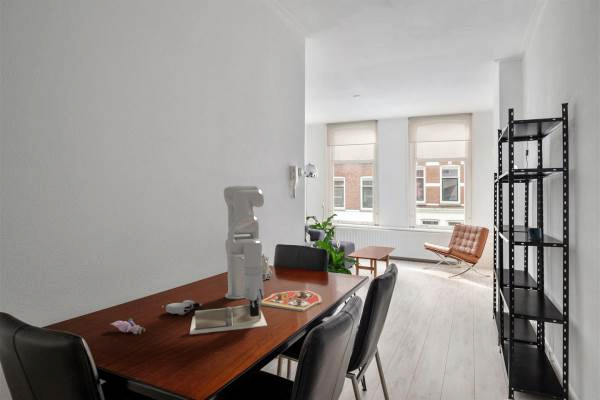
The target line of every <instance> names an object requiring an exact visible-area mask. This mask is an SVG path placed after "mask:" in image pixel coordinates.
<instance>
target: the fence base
mask: <svg viewBox="0 0 600 400" xmlns="http://www.w3.org/2000/svg"><path fill="white" fill-rule="evenodd" d="M232 307H233V306H232ZM232 307H231V306H227V307H223V308H211V309H203V310H202V309H201V310H195V312H194V316H195V327H196V329H197V328H206V327H216V326H225V325H226V326H227V327H230V326H232Z"/></svg>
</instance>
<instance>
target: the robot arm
mask: <svg viewBox="0 0 600 400" xmlns="http://www.w3.org/2000/svg"><path fill="white" fill-rule="evenodd" d="M223 197H224V198H223V199H224V201H225V204H226V206H227V225H228V226H227V227H228V228H227V229H228V232H227V239H226V240H225V243H224V245H225V251H226V259H227V288H228V289H227V290H228V291H227V293H225V295H224V297H225V298H226V299H228V300H241V299H246V300H247V301H248V305H249V306H250V316H252V317H255V316H258V315H259V304H260V303H262V300H263V299H264V296H265V291H264V280H263V278H262V256H263V252H262V251H263V242H261V240H260V235H259V234H260V227H259V225H260V224H259V219H258V218H257V217H256V216H255V215H254V208H261V207H263V206H264V202H265V198H264V193H263V191H262V189H260V188H259V187H258V186H256V185H231V186H227V187H225V188H224V190H223ZM235 235H236V236H235ZM237 235H238V236H237ZM239 235H241V236H239Z"/></svg>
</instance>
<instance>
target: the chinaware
mask: <svg viewBox="0 0 600 400" xmlns="http://www.w3.org/2000/svg"><path fill="white" fill-rule="evenodd" d="M269 259H270V258H269V257H268V256H267V255H266V254H265V253H262V278H263V281H267V280H266V279H269V280H271V279H272V277H273V271H272V269H270V265H269ZM270 278H271V279H270Z"/></svg>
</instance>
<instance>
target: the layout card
mask: <svg viewBox="0 0 600 400" xmlns="http://www.w3.org/2000/svg"><path fill="white" fill-rule="evenodd" d="M262 327H268V324H267V321H266V318H265V316H264V314H263V312H262V310H261V319H260V320H254V321H249V322H243V323H238V324H233V323H232V326H230V327H227V326H226V325H225V326H216V327H206V328H197V329H196V327H195V315H193V316H192V320H191V325H190V331H189V335H197V334H206V333H213V332H214V333H215V332H223V331H234V330H243V329H252V328H262Z"/></svg>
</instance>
